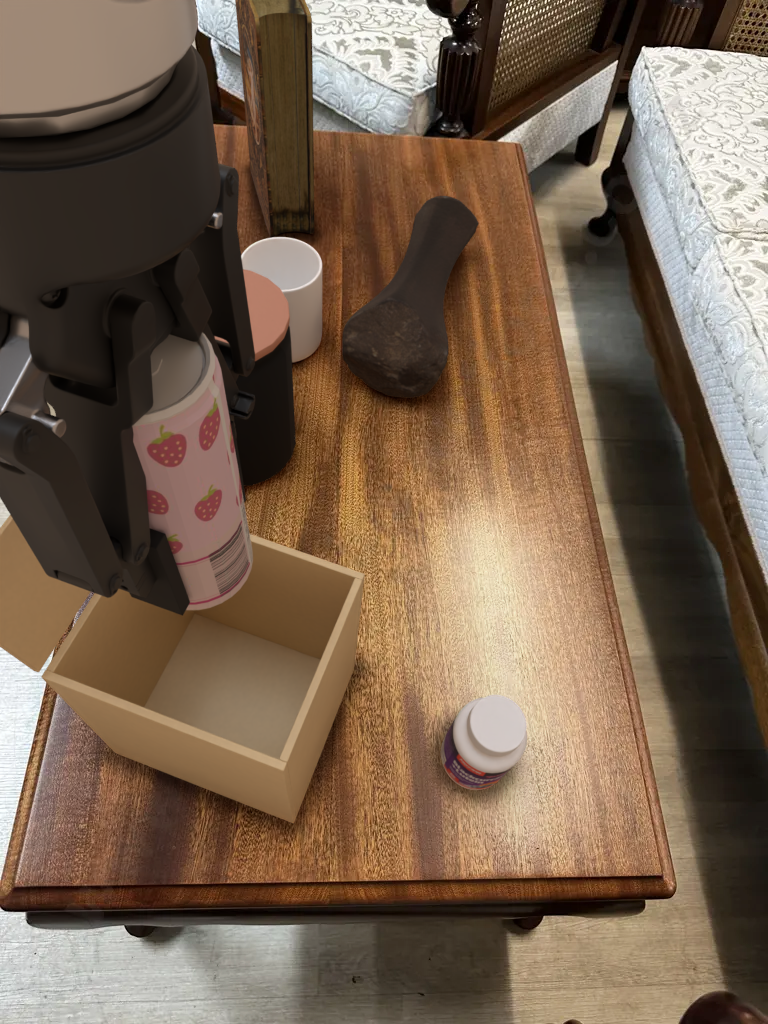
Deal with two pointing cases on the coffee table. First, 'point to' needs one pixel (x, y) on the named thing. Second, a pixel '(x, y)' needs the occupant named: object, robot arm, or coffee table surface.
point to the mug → (293, 286)
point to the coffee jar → (267, 385)
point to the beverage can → (194, 471)
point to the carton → (222, 678)
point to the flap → (31, 601)
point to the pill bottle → (484, 742)
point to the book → (279, 109)
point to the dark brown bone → (411, 307)
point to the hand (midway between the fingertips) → (191, 545)
